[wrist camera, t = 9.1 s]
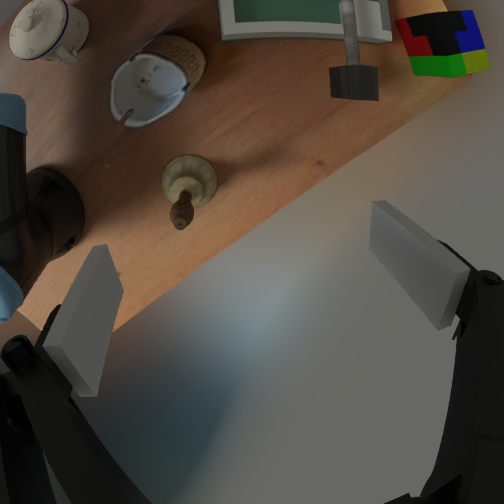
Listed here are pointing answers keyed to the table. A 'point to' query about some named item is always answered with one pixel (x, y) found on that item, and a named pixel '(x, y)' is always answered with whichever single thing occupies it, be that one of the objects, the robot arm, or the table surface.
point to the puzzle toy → (444, 43)
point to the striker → (353, 64)
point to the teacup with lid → (49, 31)
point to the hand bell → (187, 187)
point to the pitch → (301, 20)
